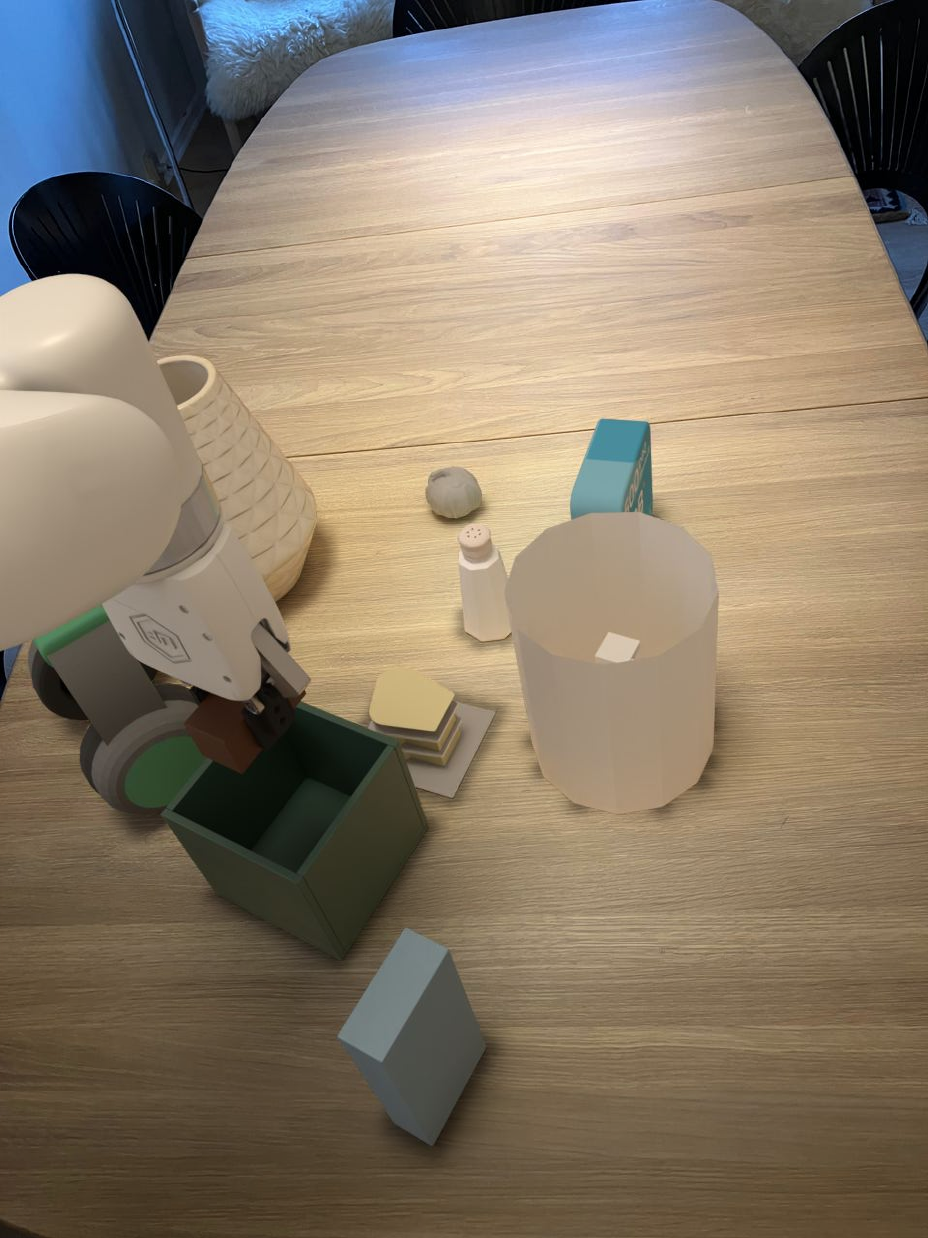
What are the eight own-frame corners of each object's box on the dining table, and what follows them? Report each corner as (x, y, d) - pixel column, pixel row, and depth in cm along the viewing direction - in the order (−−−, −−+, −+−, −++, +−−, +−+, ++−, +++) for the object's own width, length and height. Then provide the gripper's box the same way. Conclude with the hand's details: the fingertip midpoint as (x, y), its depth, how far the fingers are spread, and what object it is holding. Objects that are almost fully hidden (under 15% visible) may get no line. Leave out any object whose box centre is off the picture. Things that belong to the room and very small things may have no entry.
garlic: (418, 521, 105) (408, 482, 101) (441, 487, 108) (432, 448, 104) (471, 532, 103) (463, 492, 99) (493, 497, 106) (486, 457, 102)
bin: (341, 961, 74) (297, 884, 66) (215, 893, 80) (159, 814, 71) (429, 827, 81) (399, 740, 72) (307, 772, 86) (265, 686, 78)
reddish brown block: (242, 774, 65) (224, 742, 62) (201, 755, 66) (182, 723, 64) (307, 693, 69) (292, 660, 66) (266, 677, 70) (250, 644, 68)
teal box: (627, 602, 93) (621, 503, 84) (579, 596, 95) (567, 498, 86) (653, 513, 100) (650, 413, 92) (608, 509, 102) (600, 410, 93)
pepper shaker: (453, 637, 94) (432, 550, 86) (475, 594, 97) (455, 507, 89) (509, 648, 92) (492, 560, 84) (529, 604, 95) (514, 515, 87)
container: (671, 840, 77) (668, 690, 64) (501, 775, 83) (466, 627, 70) (736, 696, 84) (746, 537, 71) (577, 648, 91) (559, 492, 77)
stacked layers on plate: (496, 712, 87) (486, 671, 83) (452, 798, 82) (440, 759, 78) (392, 685, 91) (378, 644, 87) (345, 766, 86) (328, 727, 82)
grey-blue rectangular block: (432, 1147, 65) (381, 1063, 54) (393, 1123, 66) (336, 1036, 55) (487, 1046, 69) (449, 948, 58) (449, 1026, 70) (405, 926, 59)
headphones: (53, 712, 95) (-61, 558, 81) (158, 649, 99) (67, 490, 84) (133, 848, 84) (17, 697, 69) (249, 772, 87) (162, 612, 73)
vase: (236, 668, 95) (140, 477, 79) (132, 592, 105) (26, 407, 88) (369, 557, 103) (307, 360, 86) (260, 495, 112) (185, 307, 95)
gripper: (-11, 521, 56) (125, 723, 69) (218, 607, 48) (320, 813, 62) (85, 438, 59) (196, 643, 73) (311, 505, 52) (388, 720, 66)
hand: (252, 719), depth 67 cm, fingers closed on reddish brown block, 3 cm apart
